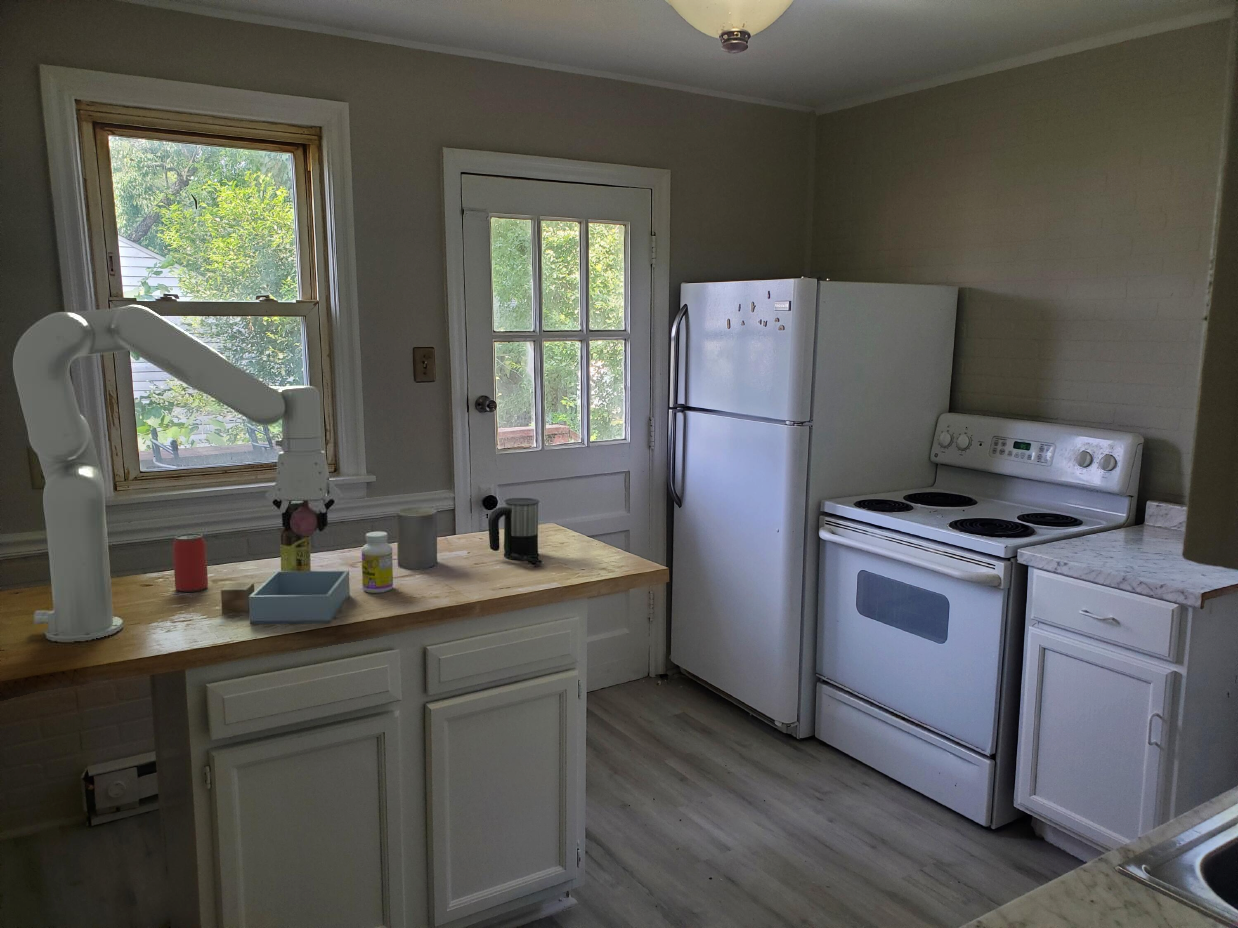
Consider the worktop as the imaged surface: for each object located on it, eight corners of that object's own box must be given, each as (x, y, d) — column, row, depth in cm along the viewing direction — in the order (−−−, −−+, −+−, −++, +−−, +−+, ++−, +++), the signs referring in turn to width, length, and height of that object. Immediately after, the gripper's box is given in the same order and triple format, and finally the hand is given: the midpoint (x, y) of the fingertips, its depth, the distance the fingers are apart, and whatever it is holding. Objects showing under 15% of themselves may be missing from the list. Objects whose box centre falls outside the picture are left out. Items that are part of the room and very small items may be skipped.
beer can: (213, 588, 195) (210, 536, 193) (182, 594, 190) (179, 541, 189) (201, 582, 200) (198, 531, 198) (170, 588, 195) (167, 535, 193)
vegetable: (321, 541, 183) (320, 494, 181) (290, 543, 181) (288, 495, 179) (320, 534, 189) (319, 489, 187) (290, 536, 186) (288, 490, 185)
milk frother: (521, 550, 234) (521, 495, 232) (566, 559, 225) (566, 503, 223) (482, 560, 223) (482, 503, 221) (528, 571, 214) (528, 511, 212)
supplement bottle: (356, 589, 197) (355, 533, 195) (382, 583, 201) (381, 528, 200) (373, 595, 192) (371, 538, 190) (399, 589, 197) (397, 533, 195)
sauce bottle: (301, 594, 192) (297, 505, 189) (275, 591, 194) (271, 503, 191) (317, 585, 199) (314, 499, 196) (292, 583, 200) (288, 498, 197)
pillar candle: (398, 560, 222) (396, 502, 219) (437, 558, 224) (436, 501, 221) (397, 570, 212) (395, 510, 210) (438, 568, 215) (437, 509, 212)
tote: (250, 623, 173) (248, 596, 172) (277, 595, 191) (276, 571, 190) (330, 622, 174) (329, 595, 173) (349, 595, 192) (348, 570, 191)
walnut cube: (222, 613, 179) (220, 589, 178) (230, 605, 184) (229, 582, 183) (247, 613, 179) (246, 589, 179) (255, 605, 184) (253, 582, 184)
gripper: (253, 447, 177) (257, 534, 180) (340, 448, 179) (343, 533, 181) (264, 443, 185) (268, 526, 187) (348, 443, 186) (351, 525, 189)
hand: (305, 529), depth 184 cm, fingers closed on vegetable, 6 cm apart
